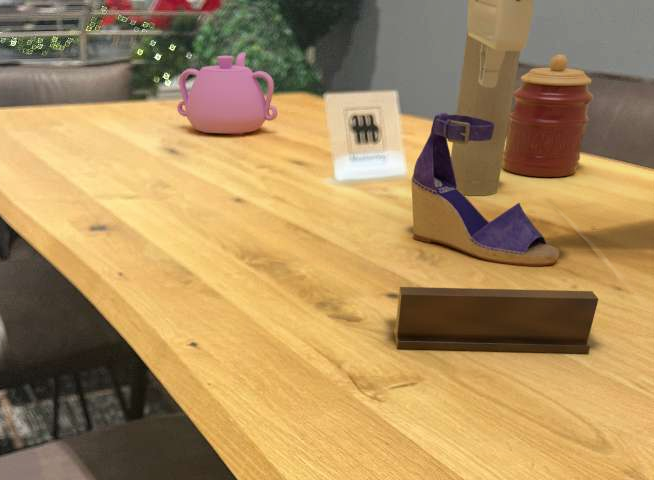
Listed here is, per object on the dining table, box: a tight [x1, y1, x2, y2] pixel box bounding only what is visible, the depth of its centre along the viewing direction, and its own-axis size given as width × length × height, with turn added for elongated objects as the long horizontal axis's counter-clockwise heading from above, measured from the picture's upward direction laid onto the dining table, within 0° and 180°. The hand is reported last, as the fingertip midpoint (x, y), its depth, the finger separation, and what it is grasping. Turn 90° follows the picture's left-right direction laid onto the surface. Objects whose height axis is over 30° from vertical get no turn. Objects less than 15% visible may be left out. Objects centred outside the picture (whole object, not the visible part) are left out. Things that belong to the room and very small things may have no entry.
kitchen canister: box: [502, 54, 594, 178], centre depth 129 cm, size 13×13×18 cm
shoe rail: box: [393, 286, 599, 354], centre depth 72 cm, size 18×4×5 cm, turn 87°
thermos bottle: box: [450, 27, 521, 196], centre depth 114 cm, size 8×8×28 cm
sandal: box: [411, 112, 560, 267], centre depth 93 cm, size 8×20×15 cm, turn 47°
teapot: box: [176, 51, 278, 136], centre depth 161 cm, size 22×22×14 cm
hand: (486, 86), depth 95 cm, fingers closed
